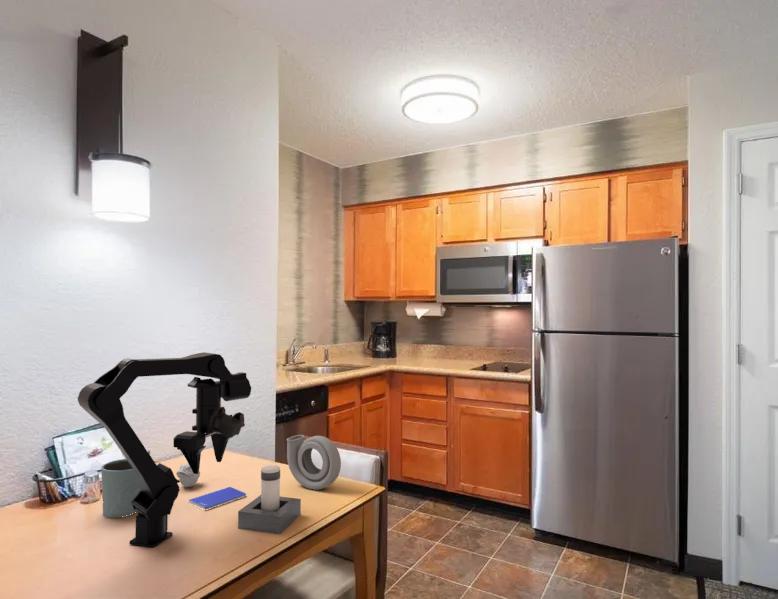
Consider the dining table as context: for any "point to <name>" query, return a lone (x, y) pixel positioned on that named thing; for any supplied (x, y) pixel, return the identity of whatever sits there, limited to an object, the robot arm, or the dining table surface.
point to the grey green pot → (118, 488)
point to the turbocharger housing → (304, 466)
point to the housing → (269, 515)
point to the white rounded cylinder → (270, 488)
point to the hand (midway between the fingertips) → (207, 467)
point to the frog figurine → (187, 476)
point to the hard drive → (217, 498)
